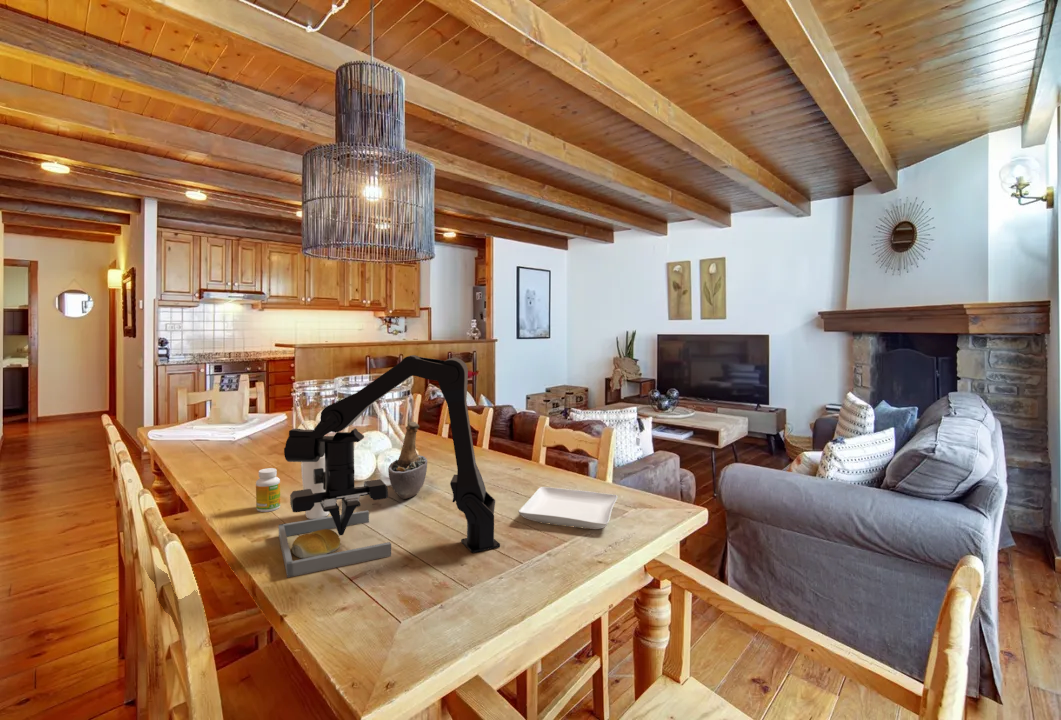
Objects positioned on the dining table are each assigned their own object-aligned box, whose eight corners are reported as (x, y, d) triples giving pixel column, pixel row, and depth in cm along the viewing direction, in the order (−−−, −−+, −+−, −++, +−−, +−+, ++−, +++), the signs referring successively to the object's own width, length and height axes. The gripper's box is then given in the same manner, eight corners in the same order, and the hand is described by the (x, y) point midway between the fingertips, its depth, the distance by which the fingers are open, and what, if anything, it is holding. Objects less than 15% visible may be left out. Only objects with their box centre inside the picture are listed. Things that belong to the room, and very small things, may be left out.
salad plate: (618, 505, 136) (618, 493, 136) (607, 537, 116) (607, 522, 116) (540, 497, 142) (540, 485, 142) (516, 526, 122) (516, 511, 121)
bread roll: (347, 548, 108) (347, 529, 108) (307, 563, 101) (307, 543, 101) (324, 537, 113) (324, 520, 113) (284, 552, 106) (284, 533, 106)
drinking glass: (300, 522, 121) (298, 459, 120) (304, 512, 127) (303, 452, 126) (331, 520, 123) (330, 457, 122) (333, 509, 129) (333, 450, 128)
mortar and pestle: (396, 508, 131) (396, 430, 130) (370, 491, 144) (369, 419, 142) (447, 496, 140) (448, 423, 139) (418, 481, 153) (418, 414, 152)
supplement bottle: (270, 513, 127) (269, 474, 126) (251, 511, 128) (250, 472, 127) (285, 505, 132) (284, 468, 131) (266, 503, 133) (265, 466, 132)
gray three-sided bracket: (391, 555, 104) (391, 543, 104) (287, 577, 95) (286, 564, 95) (367, 520, 123) (367, 510, 123) (278, 535, 113) (278, 524, 113)
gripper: (376, 448, 120) (376, 514, 121) (287, 458, 111) (288, 529, 112) (388, 459, 110) (389, 531, 112) (292, 471, 101) (293, 549, 102)
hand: (340, 534), depth 110 cm, fingers closed
